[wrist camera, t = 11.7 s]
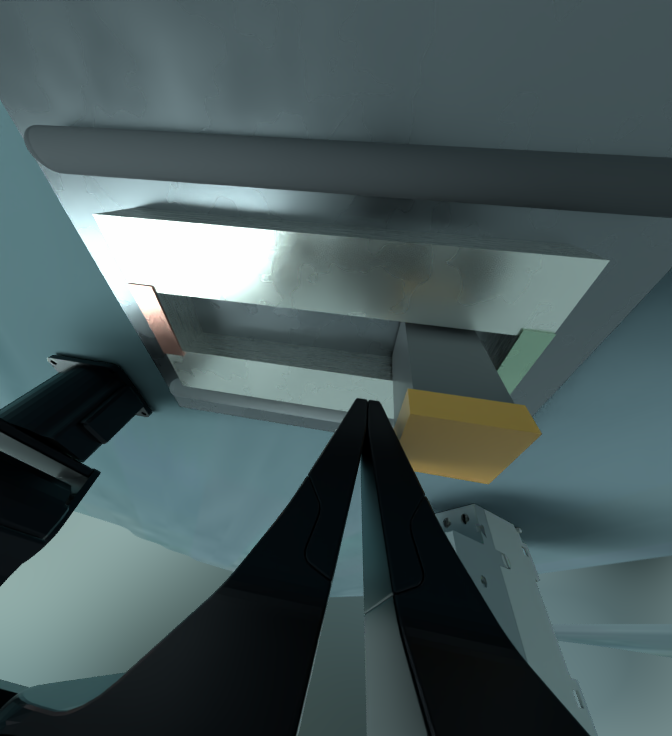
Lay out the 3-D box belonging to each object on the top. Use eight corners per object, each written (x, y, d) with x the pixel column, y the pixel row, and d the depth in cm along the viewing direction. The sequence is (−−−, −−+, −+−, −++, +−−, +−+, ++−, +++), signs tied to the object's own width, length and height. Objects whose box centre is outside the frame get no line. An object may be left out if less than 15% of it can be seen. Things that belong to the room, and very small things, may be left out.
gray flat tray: (181, 386, 19) (169, 399, 18) (43, 126, 9) (-1, 121, 8) (492, 435, 17) (499, 453, 15) (718, 162, 7) (776, 160, 6)
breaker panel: (187, 398, 21) (163, 426, 19) (-18, 15, 8) (-175, -44, 6) (488, 447, 19) (502, 486, 17) (856, 19, 6) (1159, -77, 4)
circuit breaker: (432, 481, 24) (474, 763, 13) (520, 528, 28) (614, 780, 16) (383, 499, 28) (381, 718, 17) (464, 537, 32) (506, 739, 21)
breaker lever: (388, 357, 13) (389, 466, 8) (399, 308, 11) (410, 413, 7) (450, 365, 13) (488, 484, 8) (473, 316, 11) (541, 434, 6)
